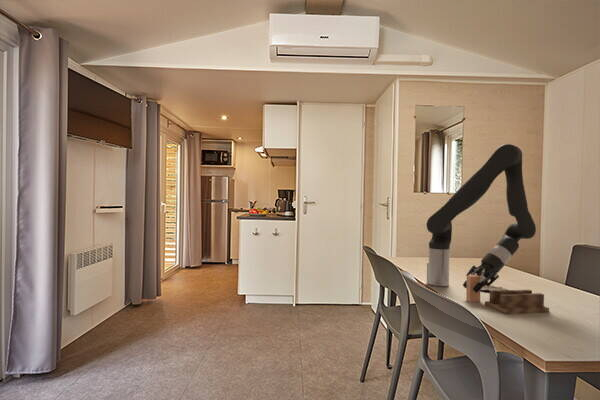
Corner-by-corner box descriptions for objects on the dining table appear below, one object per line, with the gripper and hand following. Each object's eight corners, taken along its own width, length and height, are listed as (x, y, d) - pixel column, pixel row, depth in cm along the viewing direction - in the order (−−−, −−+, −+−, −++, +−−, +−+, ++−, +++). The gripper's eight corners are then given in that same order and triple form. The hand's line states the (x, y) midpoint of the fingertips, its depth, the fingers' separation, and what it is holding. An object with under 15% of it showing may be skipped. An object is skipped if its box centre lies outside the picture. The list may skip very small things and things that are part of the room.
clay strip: (470, 301, 148) (470, 276, 147) (466, 299, 150) (466, 275, 150) (480, 301, 148) (480, 276, 148) (476, 299, 151) (476, 275, 151)
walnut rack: (505, 314, 132) (505, 297, 132) (484, 305, 143) (485, 289, 143) (549, 312, 135) (549, 295, 135) (525, 303, 146) (526, 288, 146)
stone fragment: (473, 289, 172) (472, 294, 163) (473, 283, 172) (472, 287, 163) (537, 295, 161) (540, 301, 152) (537, 289, 161) (540, 294, 152)
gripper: (479, 249, 157) (452, 278, 155) (503, 255, 143) (475, 287, 141) (489, 262, 158) (464, 290, 156) (515, 268, 144) (487, 300, 142)
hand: (469, 288), depth 149 cm, fingers open, 5 cm apart
